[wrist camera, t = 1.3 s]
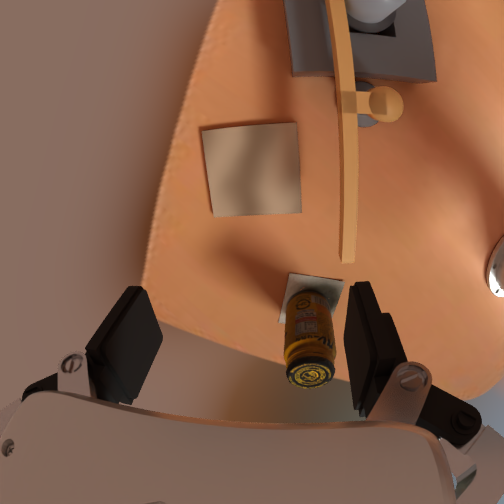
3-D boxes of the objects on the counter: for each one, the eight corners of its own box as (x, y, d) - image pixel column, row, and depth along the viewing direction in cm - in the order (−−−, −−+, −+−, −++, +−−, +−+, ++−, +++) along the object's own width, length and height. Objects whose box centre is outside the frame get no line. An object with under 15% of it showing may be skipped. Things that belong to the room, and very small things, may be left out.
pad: (296, 122, 28) (296, 122, 27) (301, 211, 32) (301, 213, 32) (203, 130, 29) (201, 131, 29) (215, 215, 34) (213, 217, 33)
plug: (374, -1, 19) (409, -38, 10) (381, 45, 22) (424, 22, 13) (320, -5, 20) (334, -50, 11) (327, 42, 23) (347, 10, 13)
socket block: (400, -22, 17) (420, -41, 11) (419, 130, 26) (446, 137, 20) (277, -31, 19) (275, -57, 13) (296, 127, 28) (299, 131, 23)
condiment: (278, 321, 41) (273, 390, 30) (289, 272, 36) (288, 340, 26) (327, 328, 40) (334, 395, 30) (344, 280, 36) (361, 348, 26)
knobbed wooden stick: (378, -15, 14) (385, -22, 13) (388, 251, 27) (394, 261, 25) (321, -20, 15) (323, -29, 13) (338, 252, 27) (341, 263, 26)
